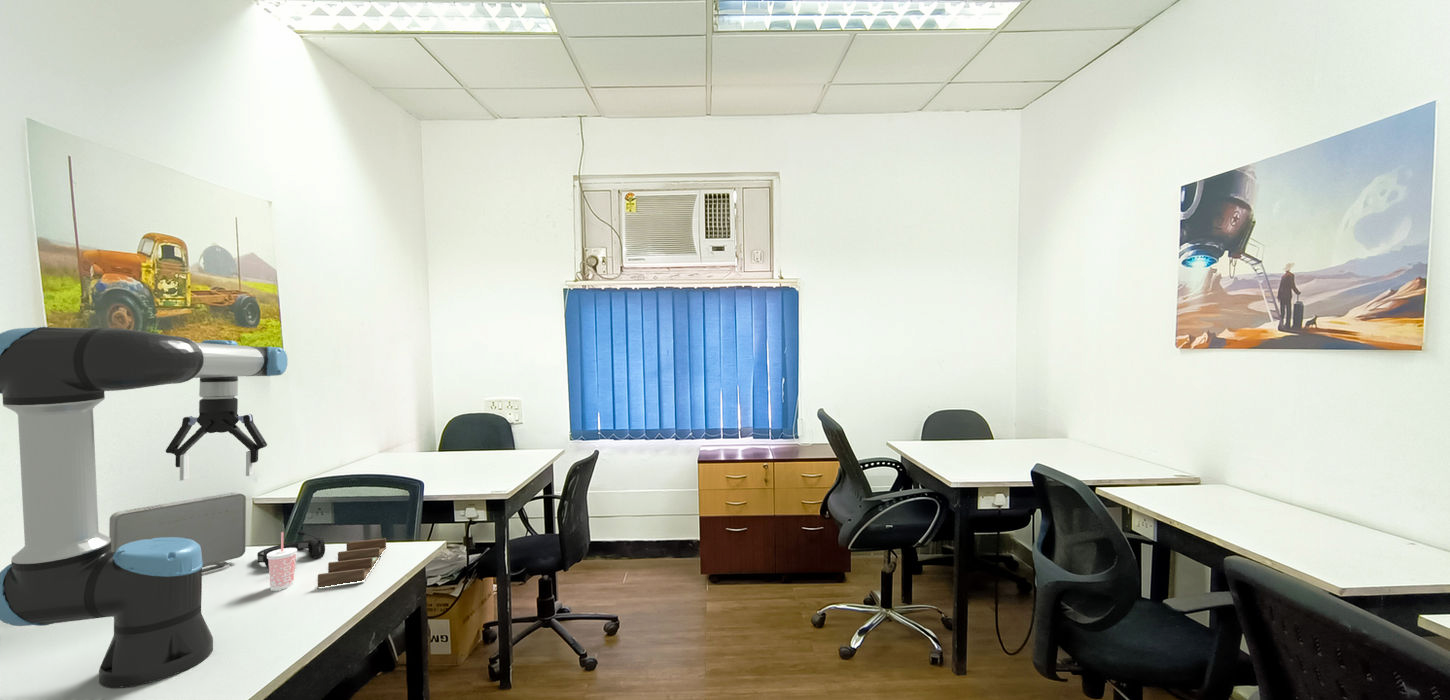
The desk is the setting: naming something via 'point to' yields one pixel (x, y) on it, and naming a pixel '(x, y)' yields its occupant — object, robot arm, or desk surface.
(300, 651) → the desk surface
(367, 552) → the slot rack
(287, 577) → the beverage cup
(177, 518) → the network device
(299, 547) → the headset
